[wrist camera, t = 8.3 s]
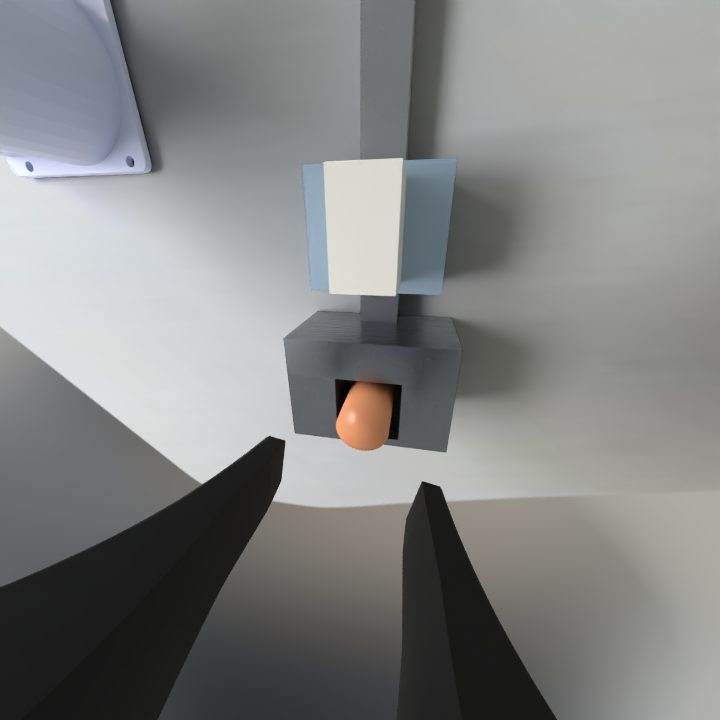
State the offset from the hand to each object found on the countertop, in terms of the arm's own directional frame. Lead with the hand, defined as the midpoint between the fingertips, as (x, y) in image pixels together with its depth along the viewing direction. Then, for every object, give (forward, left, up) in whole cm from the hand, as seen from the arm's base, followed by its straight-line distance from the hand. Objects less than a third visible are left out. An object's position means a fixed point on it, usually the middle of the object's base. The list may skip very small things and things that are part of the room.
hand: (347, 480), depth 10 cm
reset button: (0, 0, -7) cm, 7 cm away
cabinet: (0, +1, -9) cm, 9 cm away
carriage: (0, +8, -9) cm, 12 cm away
